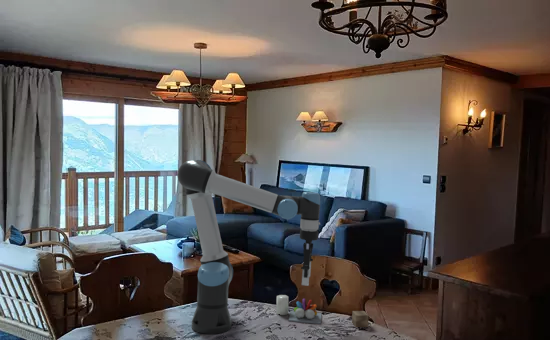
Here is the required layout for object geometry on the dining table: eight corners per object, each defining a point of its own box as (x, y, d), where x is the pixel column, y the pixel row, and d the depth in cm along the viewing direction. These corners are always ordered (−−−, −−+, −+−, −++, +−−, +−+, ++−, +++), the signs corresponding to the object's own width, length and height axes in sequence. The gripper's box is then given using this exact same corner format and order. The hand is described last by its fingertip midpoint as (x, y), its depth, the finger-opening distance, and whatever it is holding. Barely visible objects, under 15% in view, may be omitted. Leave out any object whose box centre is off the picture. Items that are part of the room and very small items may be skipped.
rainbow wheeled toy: (316, 321, 176) (317, 303, 176) (292, 318, 178) (293, 301, 178) (317, 314, 185) (318, 296, 184) (294, 311, 186) (295, 294, 186)
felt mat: (288, 321, 176) (288, 319, 176) (291, 312, 187) (291, 310, 187) (320, 324, 175) (320, 322, 175) (321, 314, 186) (321, 313, 186)
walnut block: (355, 327, 173) (356, 315, 172) (351, 323, 178) (352, 311, 177) (367, 327, 173) (368, 315, 173) (363, 323, 178) (364, 310, 178)
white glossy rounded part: (276, 315, 183) (277, 298, 183) (275, 311, 188) (276, 295, 188) (288, 315, 183) (288, 298, 183) (287, 311, 188) (287, 294, 188)
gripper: (317, 235, 167) (314, 290, 168) (319, 226, 192) (316, 273, 193) (297, 233, 168) (294, 288, 169) (302, 224, 193) (299, 272, 194)
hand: (306, 280), depth 181 cm, fingers open, 13 cm apart
